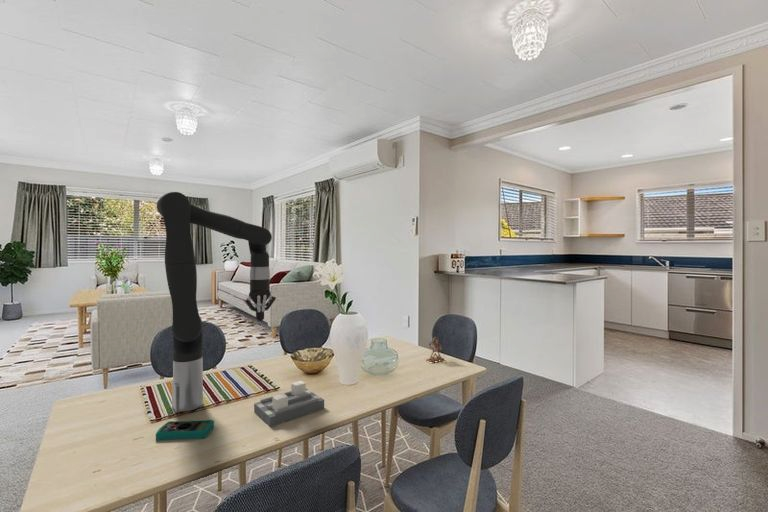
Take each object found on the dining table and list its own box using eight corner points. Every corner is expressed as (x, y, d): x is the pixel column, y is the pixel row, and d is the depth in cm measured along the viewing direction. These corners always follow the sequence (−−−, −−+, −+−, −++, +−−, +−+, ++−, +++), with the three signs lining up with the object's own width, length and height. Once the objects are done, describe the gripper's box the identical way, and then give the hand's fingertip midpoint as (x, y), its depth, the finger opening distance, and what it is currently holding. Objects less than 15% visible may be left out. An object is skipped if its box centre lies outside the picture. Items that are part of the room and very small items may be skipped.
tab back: (295, 396, 128) (295, 385, 128) (291, 394, 130) (291, 383, 130) (305, 393, 130) (305, 383, 130) (301, 391, 133) (301, 380, 133)
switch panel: (270, 426, 113) (270, 414, 113) (254, 412, 123) (254, 400, 123) (324, 408, 126) (324, 397, 126) (306, 396, 136) (306, 385, 136)
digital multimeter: (166, 429, 112) (166, 419, 112) (215, 427, 114) (215, 418, 113) (153, 442, 105) (153, 432, 105) (205, 440, 106) (205, 430, 106)
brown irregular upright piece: (439, 358, 183) (439, 335, 183) (444, 360, 180) (445, 336, 179) (425, 361, 178) (426, 337, 178) (430, 363, 175) (431, 339, 175)
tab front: (276, 411, 116) (276, 399, 116) (272, 408, 119) (272, 396, 119) (287, 408, 119) (287, 396, 119) (283, 404, 121) (283, 393, 121)
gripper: (271, 276, 150) (271, 317, 150) (239, 278, 141) (239, 321, 142) (279, 277, 144) (279, 320, 145) (246, 279, 135) (246, 325, 136)
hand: (259, 320), depth 143 cm, fingers closed
